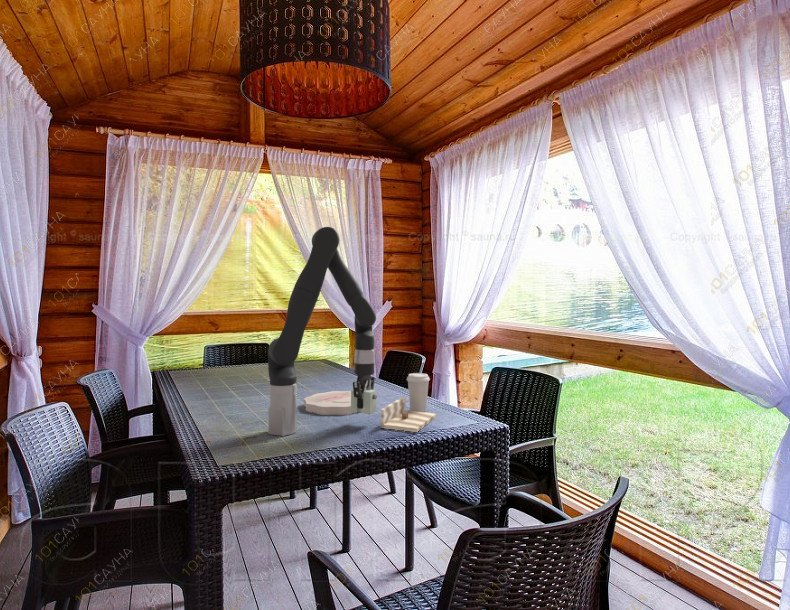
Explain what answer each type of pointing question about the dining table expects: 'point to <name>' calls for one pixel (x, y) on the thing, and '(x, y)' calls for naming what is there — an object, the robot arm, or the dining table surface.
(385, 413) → the cleat board
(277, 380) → the robot arm
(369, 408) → the block
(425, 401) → the coffee cup
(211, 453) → the dining table surface
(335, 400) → the decorative plaque
